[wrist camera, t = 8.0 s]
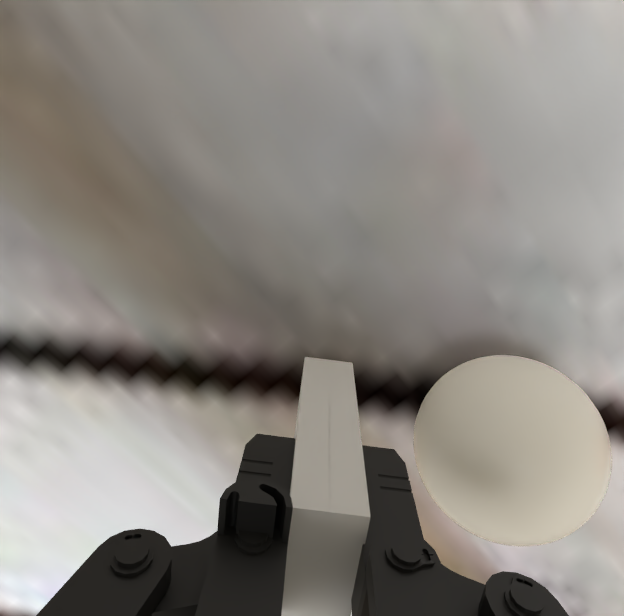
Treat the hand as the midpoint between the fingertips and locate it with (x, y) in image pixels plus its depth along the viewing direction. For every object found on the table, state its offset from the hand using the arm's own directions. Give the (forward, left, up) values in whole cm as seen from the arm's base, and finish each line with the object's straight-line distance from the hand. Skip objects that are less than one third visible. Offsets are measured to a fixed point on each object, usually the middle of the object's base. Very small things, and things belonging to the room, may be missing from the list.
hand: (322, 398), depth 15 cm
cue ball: (+6, 0, +1) cm, 6 cm away
